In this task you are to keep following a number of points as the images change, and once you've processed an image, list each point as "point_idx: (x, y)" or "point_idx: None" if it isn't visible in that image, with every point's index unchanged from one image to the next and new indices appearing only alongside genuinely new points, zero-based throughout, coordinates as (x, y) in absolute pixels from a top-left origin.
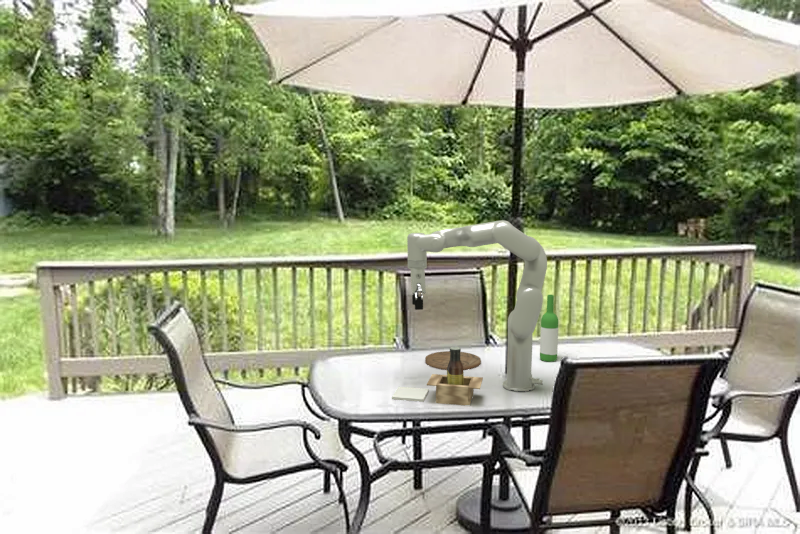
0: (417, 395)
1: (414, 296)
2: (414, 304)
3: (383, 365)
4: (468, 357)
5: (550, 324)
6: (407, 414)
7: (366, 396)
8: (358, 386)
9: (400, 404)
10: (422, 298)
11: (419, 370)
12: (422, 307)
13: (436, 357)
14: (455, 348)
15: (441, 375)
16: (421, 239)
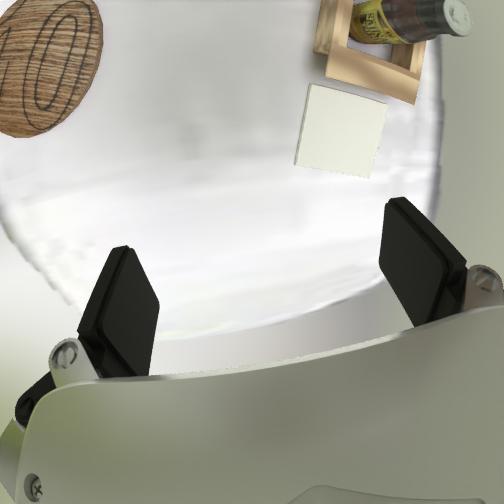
0: (363, 117)
1: (139, 362)
2: (153, 292)
3: (102, 229)
4: (15, 26)
5: None
6: (441, 145)
7: (342, 230)
8: (276, 256)
9: (395, 157)
10: (498, 276)
11: (116, 128)
12: (410, 210)
13: (24, 107)
14: (463, 17)
15: (339, 49)
16: None
